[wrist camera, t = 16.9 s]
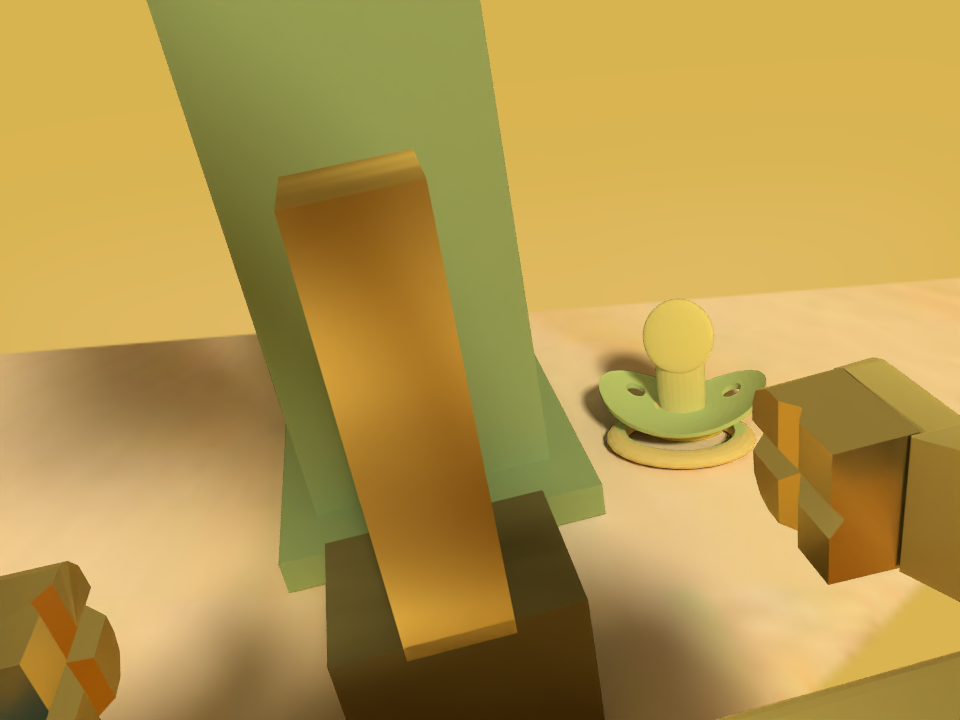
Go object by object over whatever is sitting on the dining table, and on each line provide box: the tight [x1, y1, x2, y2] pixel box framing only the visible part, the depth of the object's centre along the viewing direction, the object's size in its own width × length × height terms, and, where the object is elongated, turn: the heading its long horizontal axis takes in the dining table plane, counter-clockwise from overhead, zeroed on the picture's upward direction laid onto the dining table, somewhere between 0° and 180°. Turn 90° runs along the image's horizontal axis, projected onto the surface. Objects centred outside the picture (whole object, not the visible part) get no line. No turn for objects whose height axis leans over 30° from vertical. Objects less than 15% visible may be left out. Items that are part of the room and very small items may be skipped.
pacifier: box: [599, 299, 766, 469], centre depth 37 cm, size 7×6×6 cm
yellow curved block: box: [274, 149, 605, 720], centre depth 23 cm, size 18×7×5 cm
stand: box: [147, 0, 606, 593], centre depth 34 cm, size 15×16×26 cm
